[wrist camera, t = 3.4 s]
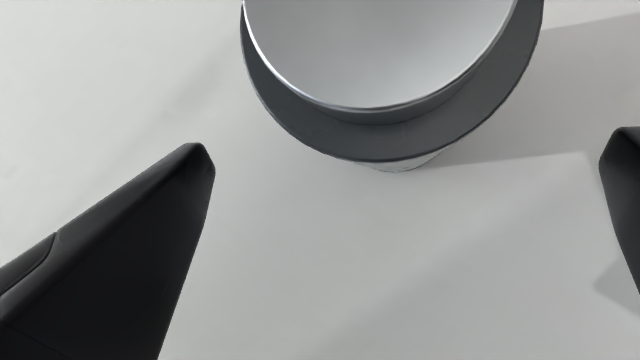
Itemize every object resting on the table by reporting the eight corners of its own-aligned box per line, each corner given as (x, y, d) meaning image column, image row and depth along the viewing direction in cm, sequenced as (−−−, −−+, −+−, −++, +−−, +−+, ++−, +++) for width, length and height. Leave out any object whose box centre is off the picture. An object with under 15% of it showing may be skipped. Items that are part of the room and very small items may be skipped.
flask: (479, 124, 17) (691, -26, 4) (381, 194, 18) (332, 233, 5) (406, 33, 17) (411, -311, 5) (316, 106, 18) (142, -34, 6)
